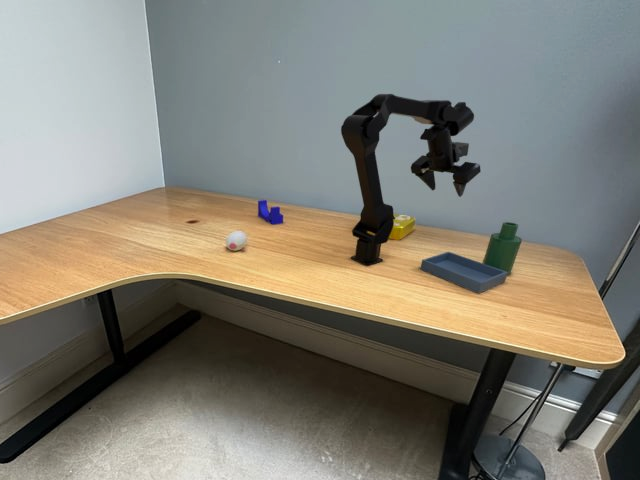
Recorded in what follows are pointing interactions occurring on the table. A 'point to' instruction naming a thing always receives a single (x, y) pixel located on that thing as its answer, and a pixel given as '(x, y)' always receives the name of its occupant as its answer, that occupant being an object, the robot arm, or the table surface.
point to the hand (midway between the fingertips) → (446, 192)
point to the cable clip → (269, 213)
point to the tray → (464, 271)
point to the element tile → (401, 226)
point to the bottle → (503, 248)
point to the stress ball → (236, 240)
